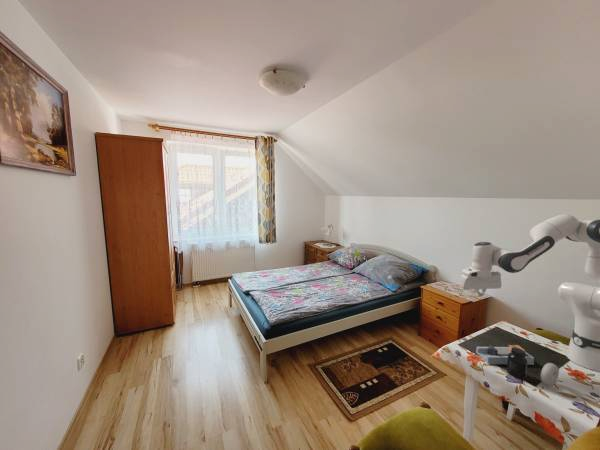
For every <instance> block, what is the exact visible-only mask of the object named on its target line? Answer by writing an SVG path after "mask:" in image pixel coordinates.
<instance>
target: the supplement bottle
mask: <svg viewBox="0 0 600 450" xmlns="http://www.w3.org/2000/svg"><path fill="white" fill-rule="evenodd" d="M522 349H523V348H522ZM522 349H519V348H515V347H513V348H512V349H511V352H510V353H509V354H508V361H507V364H506V372H507V374H509V375H510V376H511V377H514V378H517V379H520V380H525V379H526V378H527V371H528V365H527V363H528V361H527V359H526V357H525V352H526V350H525V351H523V350H522Z"/></svg>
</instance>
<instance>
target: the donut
mask: <svg viewBox="0 0 600 450" xmlns="http://www.w3.org/2000/svg"><path fill="white" fill-rule="evenodd" d="M559 375H560V370H559V367H558V366H557V365H556V364H554V363H552V362H547V363H546V364H544V366H543V367H542V369H541V371H540V381H541V383H542V384H543V385H545V386H548V387H551V386H552V387H553V386H554V385H555V384H556V383H557V381H558V378H559Z"/></svg>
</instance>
